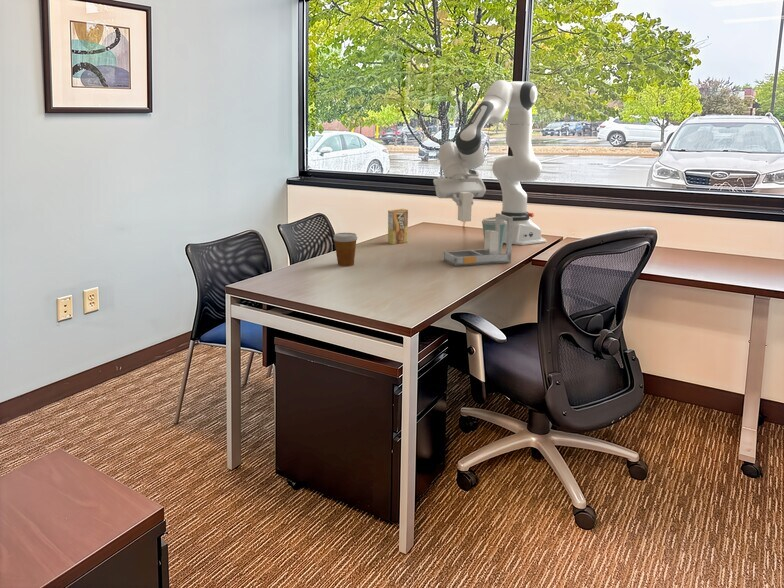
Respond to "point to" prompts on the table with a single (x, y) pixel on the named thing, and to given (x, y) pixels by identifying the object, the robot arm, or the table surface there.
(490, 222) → the disposable coffee cup
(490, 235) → the rack
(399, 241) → the candy box
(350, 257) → the disposable coffee cup
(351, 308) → the table surface
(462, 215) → the cream rectangular block
